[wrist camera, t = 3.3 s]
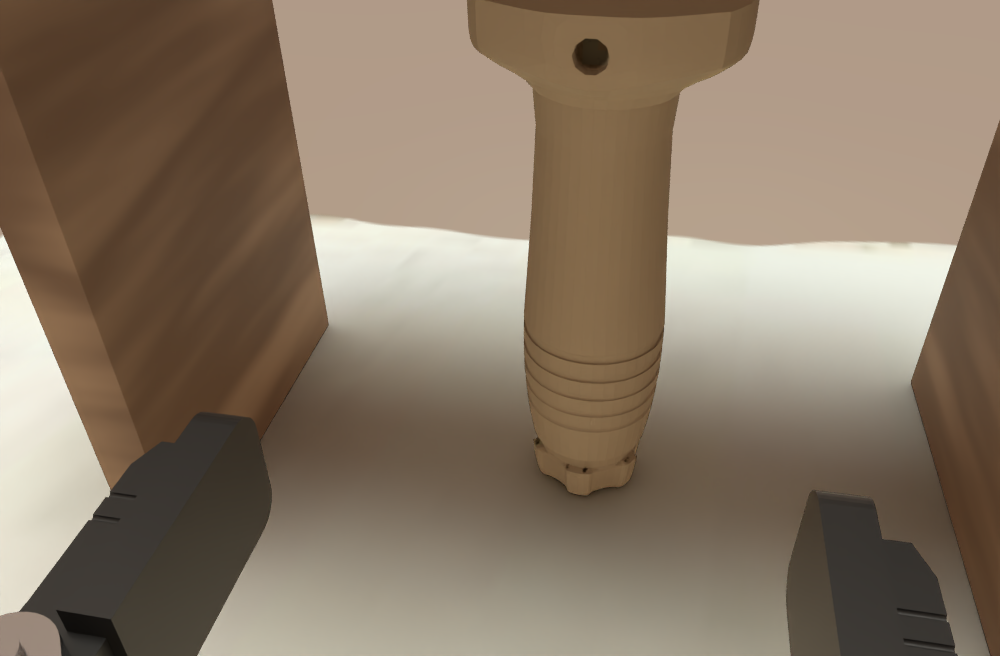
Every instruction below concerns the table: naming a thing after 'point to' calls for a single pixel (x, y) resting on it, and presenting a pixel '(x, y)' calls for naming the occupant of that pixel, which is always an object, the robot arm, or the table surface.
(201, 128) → the shelf
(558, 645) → the table surface
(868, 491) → the table surface
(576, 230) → the handle
